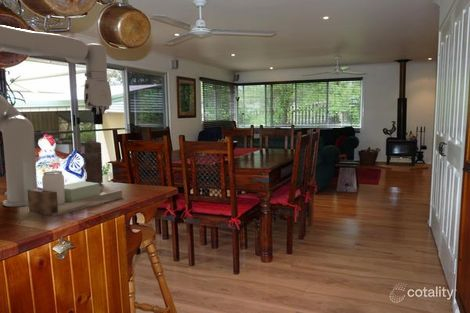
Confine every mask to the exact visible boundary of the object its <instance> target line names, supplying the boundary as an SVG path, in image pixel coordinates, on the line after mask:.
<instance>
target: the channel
mask: <svg viewBox="0 0 470 313" xmlns="http://www.w3.org/2000/svg"><path fill="white" fill-rule="evenodd" d="M102 188H103V187H101V186H100V195H97V196H93V197H89V198H85V199H81V200H77V201H73V202H69V203H65V204H61V205H58V203H57V192H51V191H45V190H43V189H38V188H37V189H29V190H27V191H28V205H27V206H28V212H29V213H32V214H37V215H42V216H46V217H51V218H53V217H58V216H61V215H64V214H68V213H72V212H75V211H79V210H82V209H85V208H89V206H90V207H93V205H94V206H98V205H100V203H101V204H104V202H105V203H107V202H112V201H115V200H119V199H123V189H117V190H114V191H113V190H112V191H109V192H104V191H103V189H102Z"/></svg>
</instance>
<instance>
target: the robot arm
mask: <svg viewBox="0 0 470 313" xmlns="http://www.w3.org/2000/svg"><path fill="white" fill-rule="evenodd" d="M2 52H7V53H13V54H18V55H23V56H24V55H25V56H29V57H39V56H52V57H53V56H54V57H60V58H64V59H65V60H66V61H67V62H69V63H72V64H81V63H82V64H85V72H84V77H86V79H85V82H84V90H83V100H84V105H85V109H86V110H89V111H91V113H92V115H93V124H94V125H103V124H104V121H103V120H104V118H103V117H104V114H105V113H106V111H107V110H110V107H111V106H112V103H113V100H112V98H113V97H112V90H111V85H110V81H108V70H107V68H108V67H107V65H108V64H107V48H106V46H105V45H103V44H101V43H87V44H86V43H85V42H84V41H83V40H82V39H79V38H76V37H75V38H74V37H71V36H66V35H61V34H55V33H49V32H48V33H47V32H39V31H32V30H28V29H23V28H22V29H21V28H17V27H16V28H15V27H12V26H7V25H3V24H0V53H2ZM0 132H1V133H2V142H3V153H4V154H3V155H4V157H3V158H4V164H5V177H6V178H5V180H6V181H5V182H6V191H4V195H5V196H6V198H7V199H5V200H3V201H2V205H3V206H5V207H15V208H17V207H26V206H29V205H28V191H27V190H29V189H38V179H37V164H36V162H37V161H36V152H35V151H36V150H35V129H34V125H33V123H32V122H31V121H30V119H28V118H27V117H25V115H23V114H22V113H21V112H20V111H19V110H18V109H17V108H16V107H14V105H13V104H11V103H10V102H9V101H8V100H7V98H6V97H5V96H4V95H2V94H0Z"/></svg>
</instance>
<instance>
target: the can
mask: <svg viewBox="0 0 470 313" xmlns="http://www.w3.org/2000/svg"><path fill="white" fill-rule="evenodd" d="M41 179H42V180H41V181H42V190H45V191H51V192H57V203H58V205H61V204H65V188H64V185H65V176H64V174H63V172H62V171H61V170H60V171H59V170H55V171H53V170H52V171H45V172H43V175H42V178H41Z"/></svg>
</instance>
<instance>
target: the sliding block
mask: <svg viewBox="0 0 470 313" xmlns="http://www.w3.org/2000/svg"><path fill="white" fill-rule="evenodd" d="M100 187H101V186H100V184H99V183H92V182H86V181H83V180H82V181H78V182H72V183H71V182H70V183H67V184H66V183H65V184H64V188H65V203H69V202H73V201H77V200H81V199H85V198H89V197H93V196H97V195H100Z"/></svg>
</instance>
